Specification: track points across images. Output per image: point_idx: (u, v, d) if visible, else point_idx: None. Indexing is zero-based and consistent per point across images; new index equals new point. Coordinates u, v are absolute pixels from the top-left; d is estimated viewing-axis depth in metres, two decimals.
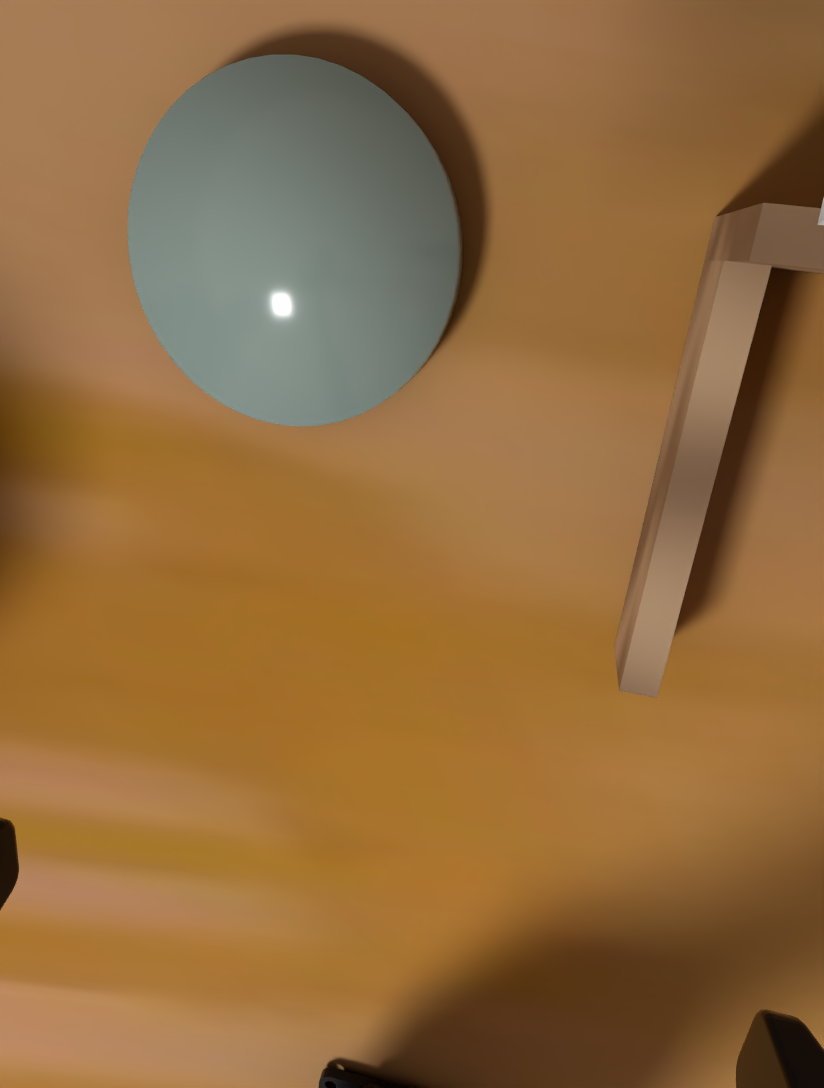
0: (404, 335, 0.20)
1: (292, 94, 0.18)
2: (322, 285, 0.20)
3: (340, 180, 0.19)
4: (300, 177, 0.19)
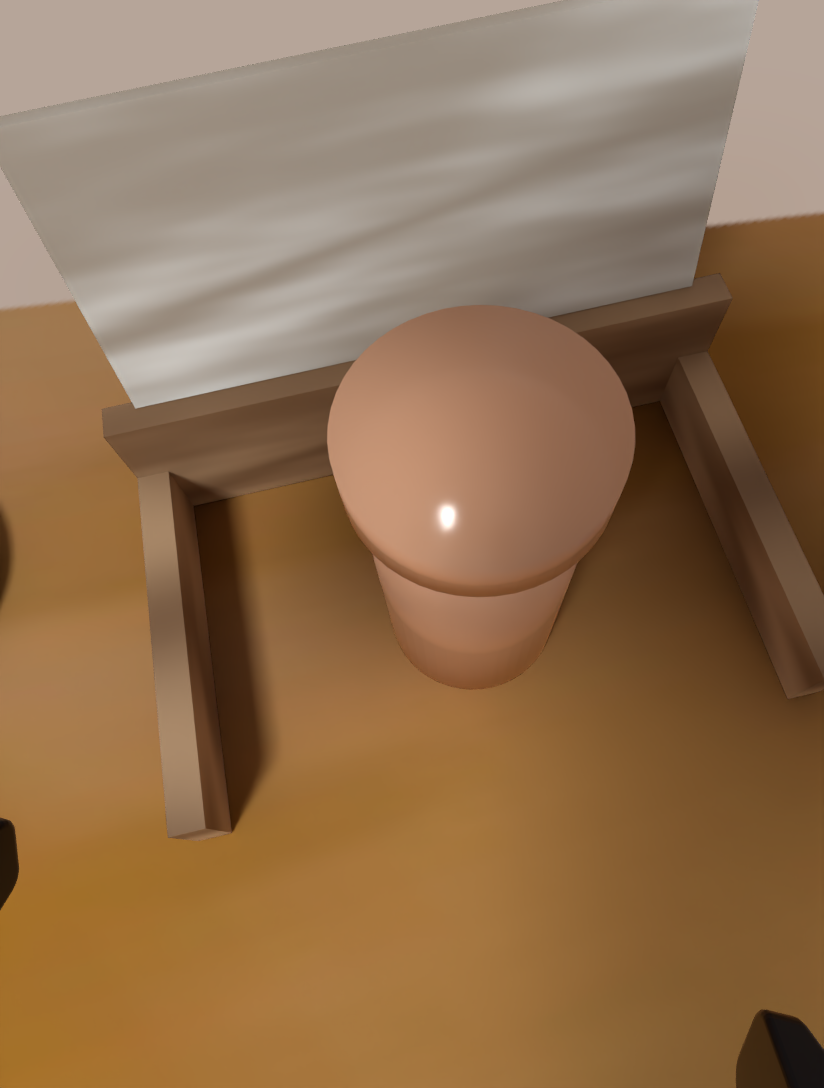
0: None
1: None
2: None
3: None
4: None
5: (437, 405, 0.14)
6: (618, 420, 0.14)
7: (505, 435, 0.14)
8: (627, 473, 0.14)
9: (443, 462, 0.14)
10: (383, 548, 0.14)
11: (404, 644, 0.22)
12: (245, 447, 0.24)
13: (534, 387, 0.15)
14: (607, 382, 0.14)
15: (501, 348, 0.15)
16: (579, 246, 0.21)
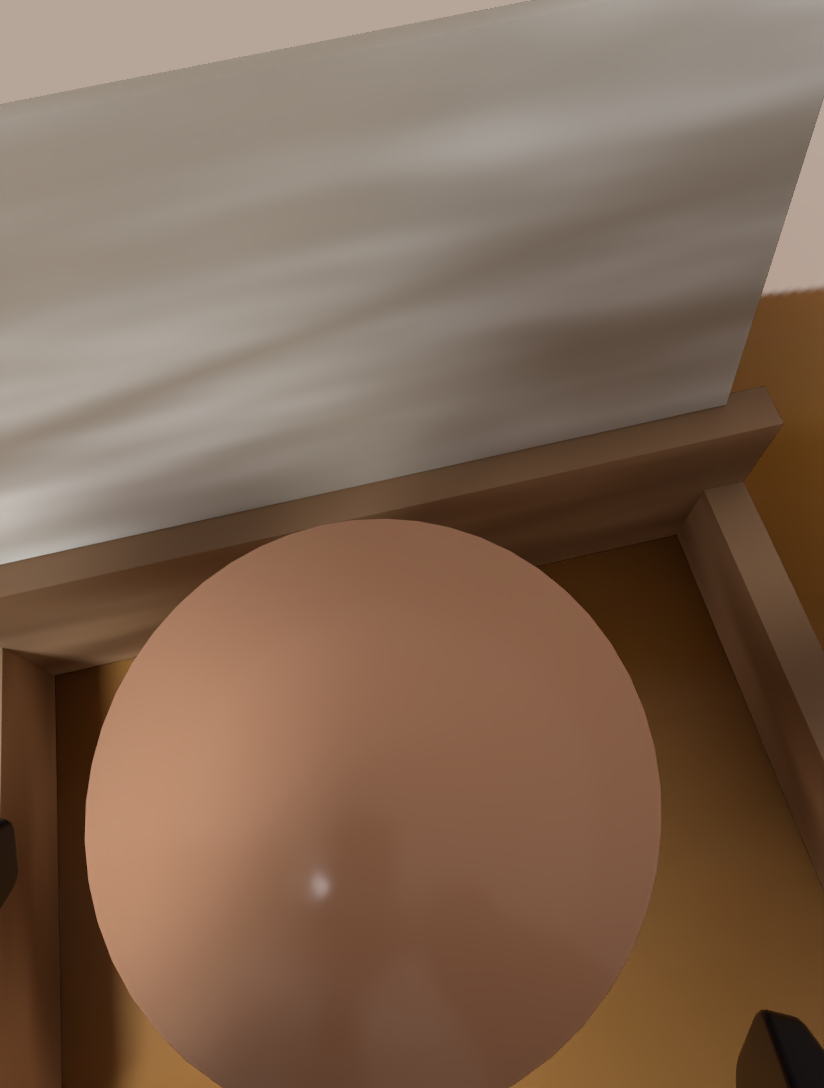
0: None
1: None
2: None
3: None
4: None
5: (295, 726, 0.08)
6: (628, 772, 0.07)
7: (416, 798, 0.07)
8: (647, 894, 0.07)
9: (295, 856, 0.07)
10: None
11: None
12: (107, 617, 0.17)
13: (474, 692, 0.08)
14: (608, 686, 0.08)
15: (418, 607, 0.08)
16: (567, 360, 0.14)
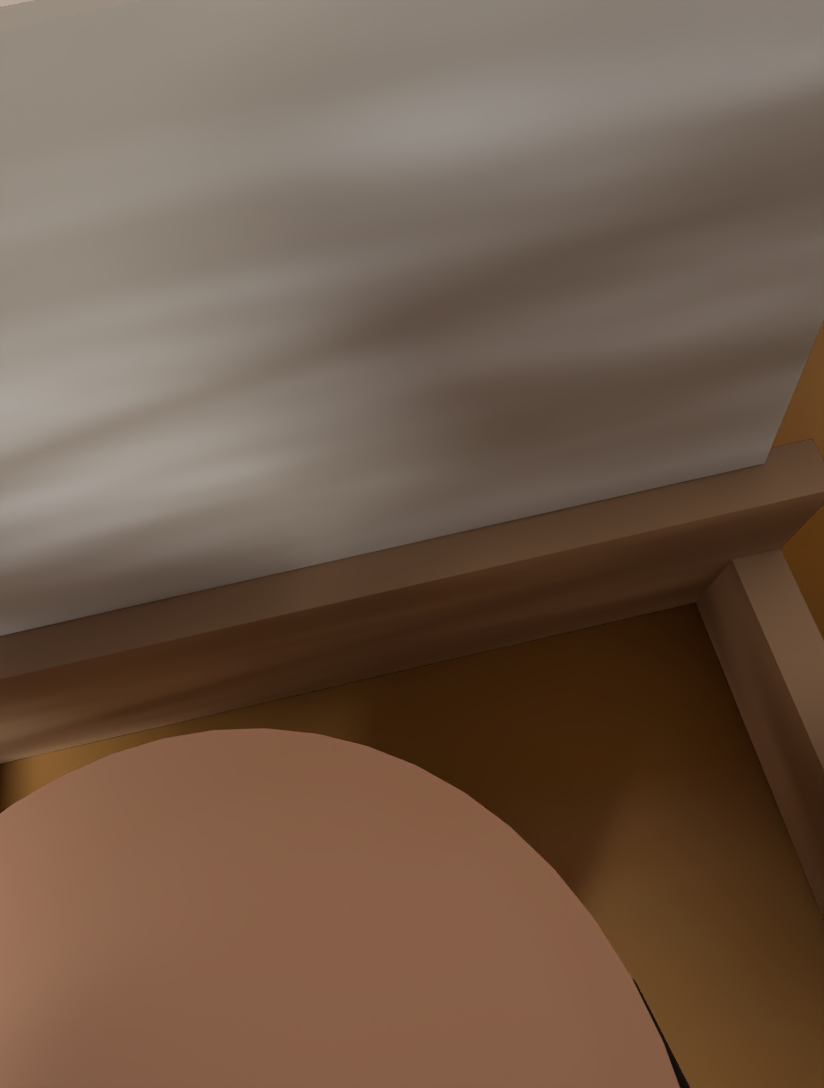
0: None
1: None
2: None
3: None
4: None
5: None
6: None
7: None
8: None
9: None
10: None
11: None
12: None
13: (395, 1068, 0.05)
14: (626, 1062, 0.05)
15: (309, 896, 0.05)
16: (562, 417, 0.11)
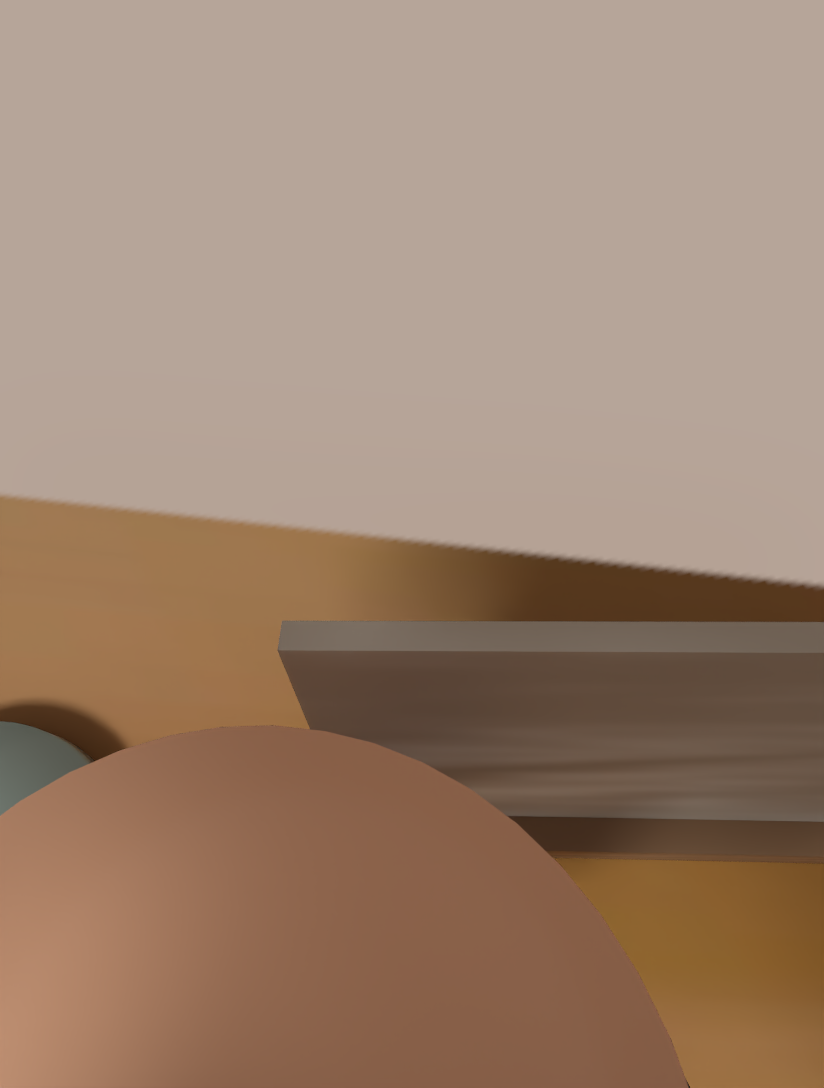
0: None
1: None
2: None
3: None
4: None
5: None
6: None
7: None
8: None
9: None
10: None
11: None
12: None
13: (403, 1065, 0.05)
14: (634, 1060, 0.05)
15: (316, 893, 0.05)
16: None
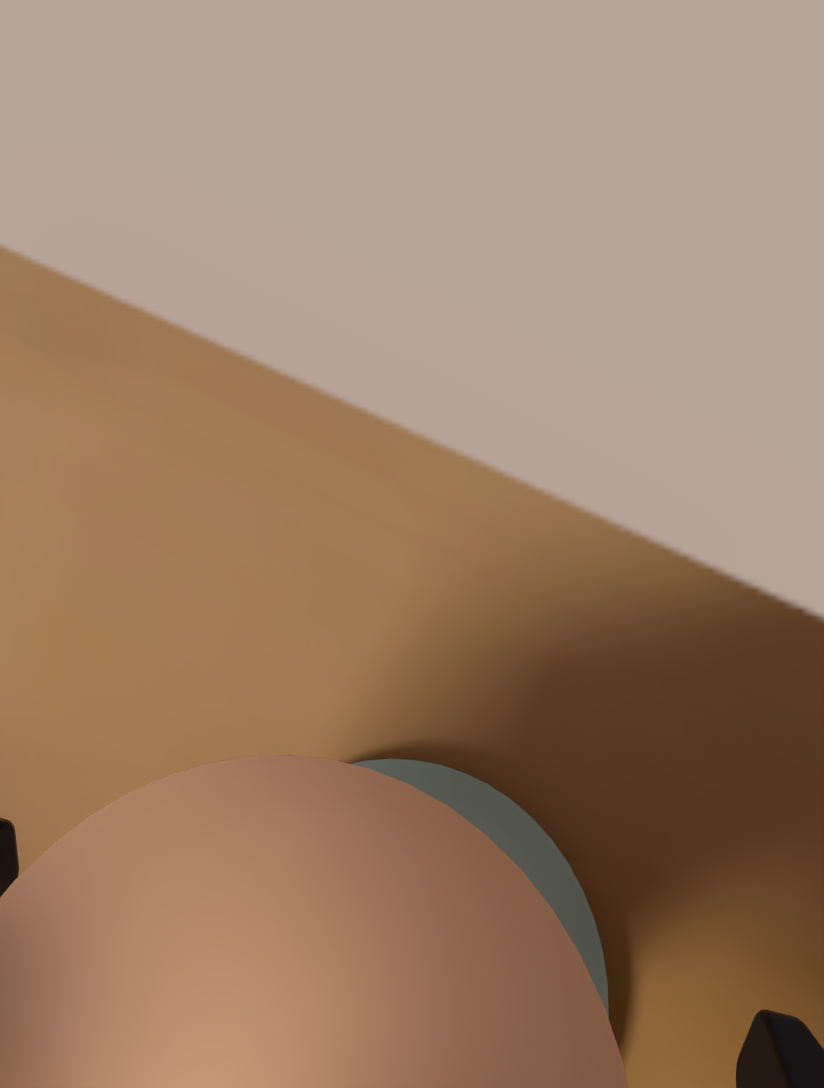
0: None
1: None
2: None
3: None
4: None
5: (154, 1071, 0.06)
6: None
7: None
8: None
9: None
10: None
11: None
12: None
13: (394, 1024, 0.06)
14: (573, 1019, 0.06)
15: (326, 890, 0.06)
16: None
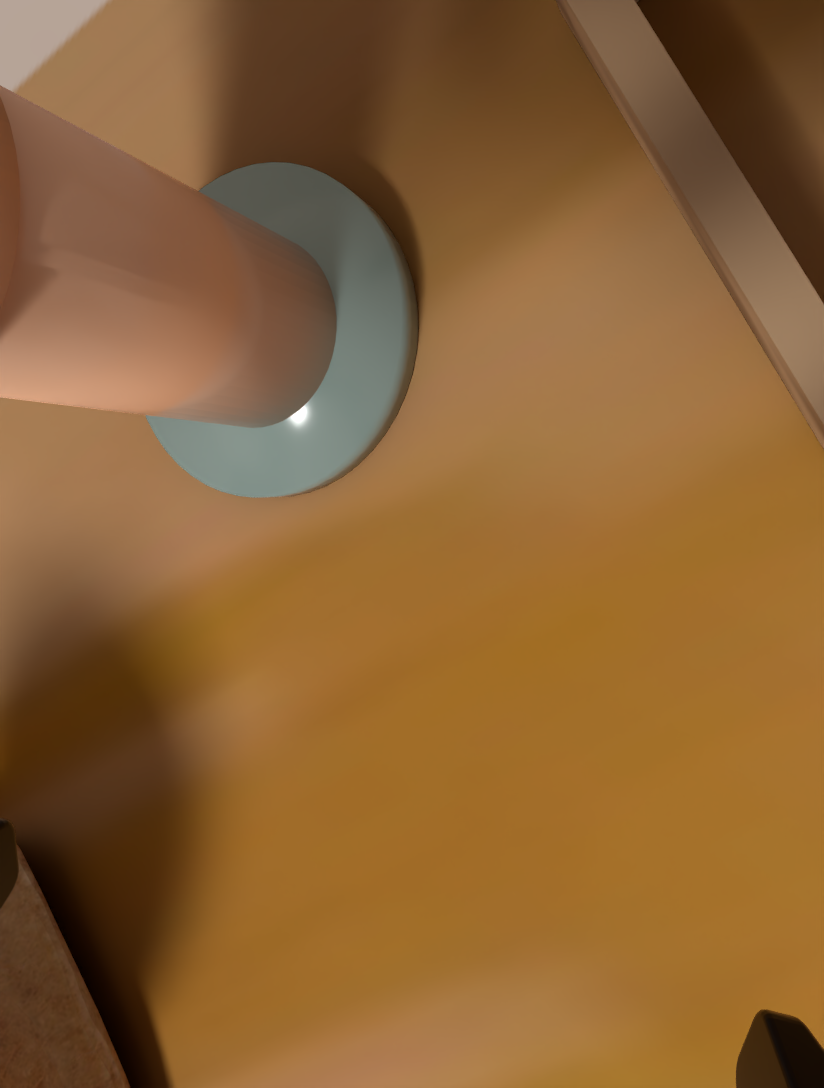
0: (373, 312, 0.19)
1: None
2: None
3: None
4: None
5: None
6: None
7: None
8: None
9: None
10: None
11: (216, 423, 0.19)
12: None
13: None
14: None
15: None
16: None
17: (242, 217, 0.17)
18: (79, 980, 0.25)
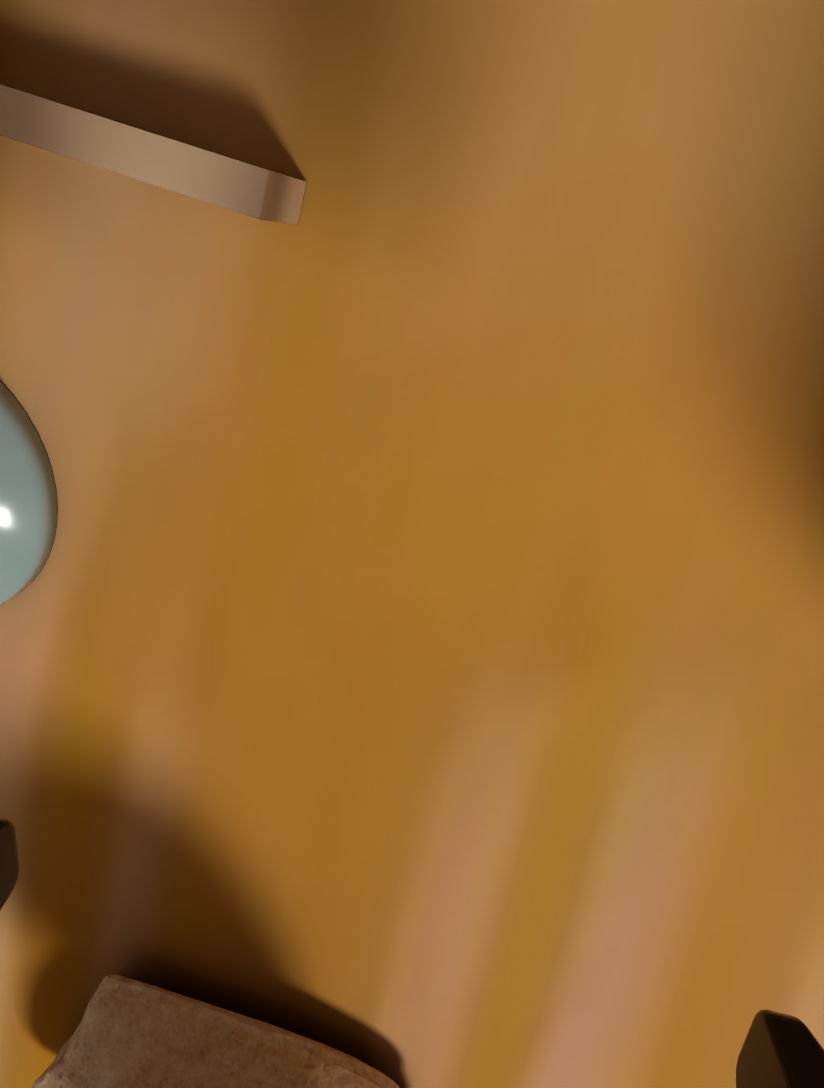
0: None
1: None
2: None
3: None
4: None
5: None
6: None
7: None
8: None
9: None
10: None
11: None
12: None
13: None
14: None
15: None
16: None
17: None
18: (234, 1015, 0.28)
